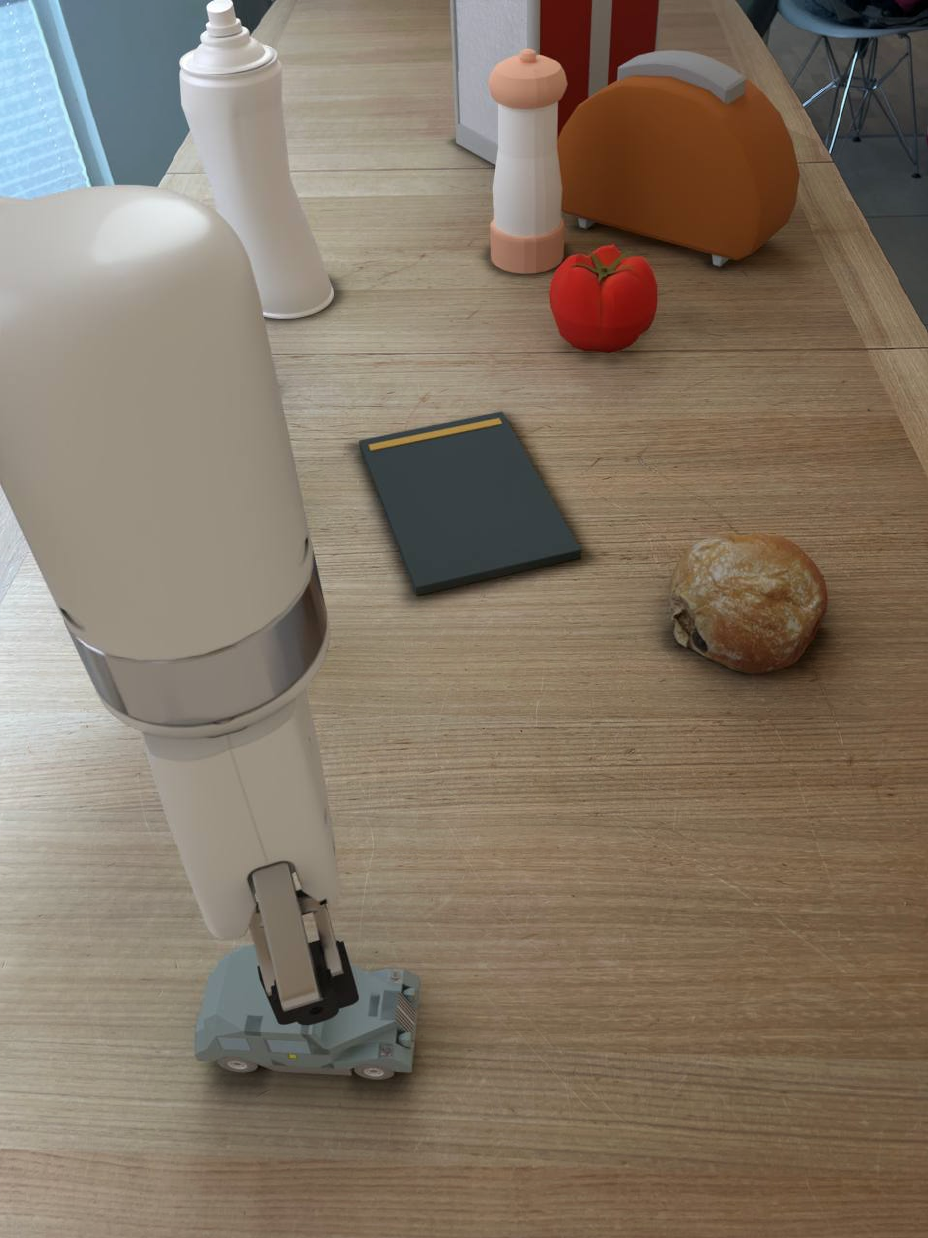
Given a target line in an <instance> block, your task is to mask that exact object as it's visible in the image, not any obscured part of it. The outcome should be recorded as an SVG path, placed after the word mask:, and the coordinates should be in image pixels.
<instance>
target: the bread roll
mask: <svg viewBox="0 0 928 1238" xmlns="http://www.w3.org/2000/svg"><path fill="white" fill-rule="evenodd" d="M824 577H825V575H823V574H822V572H821V571H820V568H819V567H818V566H817V563H815V561H814V560H813V559H812V558H811V557H810V556H809V554H807V553H806V551H804V550H803V549H802V548H801V547H800V546H799V545H798V544H797V543H795V542H794V541H792V540H791V539H787V538H786V537H784V536H783V535H780V534H763V532H762V533H760V532H752V533H750V534H728V535H727V534H725V535H716V536H711V537H708V538H705V539H702V540H700V541H698V542H696V543H695V544H693V545H692V546H691V547H690V548H689V549H687V550H686V551H685V552H684V553H683V555H682V556H681V557H680V558H679V560H678V562H677V563H676V565H675V567H674V569H673V572H672V574H671V577H670V579H669V586H668V589H669V597H668V598H669V599H668V601H669V606H668V607H669V608H668V612H669V615H670V619H671V622H672V623H673V625H674V628H673V637H674V638H675V640H676V641H677V644H680V645H681V646H683V647H684V648H689V649H691V650H693V651H695V652H697V653H698V654H700V655H701V656H702V657H705V658H706V659H709V660H711V661H713V662H716V663H718V664H721V665H723V666H725V667H727V668H728V669H730V670H733V671H737V672H741V673H745V674H752V675H755V674H765V673H771V672H775V671H778V670H781V669H782V670H783V669H785V668H787V667H789V666H791V665H794V664H795V663H797V662H798V660H799V659H800V658H801V656H803V654H804V652H805V651H806V649H807V648H808V647H809V645H810V644H811V643H812V641H813V640H814V638H815V637H816V635H817V631H818V630H819V628H820V627H821V625H822V622H823V620H824V617H825V616H826V613H827V609H828V603H829V602H828V601H829V599H828V589H827V583H826V581H825V579H824Z"/></svg>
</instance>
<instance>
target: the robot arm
mask: <svg viewBox="0 0 928 1238" xmlns="http://www.w3.org/2000/svg"><path fill="white" fill-rule="evenodd" d="M284 408H285V407H284V403H283V399H282V394H281V390H280V384H279V380H278V376H277V370H276V365H275V362H274V357H273V353H272V347H271V344H270V338H269V334H268V328H267V324H266V321H265V317H264V315H263V310H262V305H261V300H260V296H259V292H258V288H257V284H256V281H255V277H254V273H253V270H252V266H251V262H250V259H249V256H248V254H247V252H246V250H245V248H244V246H243V244H242V242H241V240H240V238H239V237H238V235H237V234H236V232H235V231H234V230H233V228H232V227H231V226H230V225H229V224H228V223H227V222H226V220H225V219H224V218H223V217H222V216H220V215H219V214H218V213H217V210H216V209H214V208H213V207H211V206H210V205H208V204H206V203H204V202H202V201H201V200H199V199H197V198H194V197H193V196H190V195H188V194H185V193H182V192H179V191H177V190H174V189H169V188H164V187H160V186H153V185H152V186H151V185H142V184H112V185H110V184H109V185H96V186H87V187H81V188H73V189H68V190H64V191H59V192H54V193H50V194H45V195H41V196H37V197H34V198H32V199H31V198H21V197H10V196H2V195H0V487H1V489H2V491H3V493H4V496H5V498H6V500H7V502H8V504H9V506H10V509H11V510H12V513H13V515H14V517H15V519H16V522H17V524H18V526H19V528H20V530H21V532H22V535H23V537H24V539H25V541H26V543H27V545H28V548H29V550H30V552H31V554H32V557H33V559H34V560H35V564H36V565H37V567H38V569H39V571H40V573H41V576H42V578H43V580H44V582H45V584H46V586H47V589H48V591H49V593H50V595H51V597H52V599H53V601H54V604H55V606H56V608H57V610H58V612H59V614H60V616H61V618H62V620H63V623H64V625H65V628H66V629H67V630H66V631H67V632H68V634H69V637H70V639H71V641H72V643H73V645H74V647H75V649H76V651H77V654H78V656H79V658H80V660H81V662H82V664H83V666H84V669H85V671H86V672H87V676H88V678H89V679H90V682H91V684H92V686H93V688H94V691H95V692H96V694H97V696H98V698H99V700H100V702H101V704H102V705H103V706H104V707H105V709H106V711H108V712H109V713H110V714H111V716H113V717H115V718H116V719H117V720H118V721H120V722H121V723H123V725H126V726H128V727H130V728H132V729H134V730H137V731H139V732H141V736H142V741H143V745H144V749H145V753H146V756H147V759H148V763H149V766H150V770H151V774H152V778H153V781H154V784H155V788H156V791H157V795H158V798H159V800H160V804H161V807H162V809H163V812H164V815H165V818H166V821H167V824H168V827H169V830H170V833H171V836H172V839H173V841H174V843H175V847H176V850H177V852H178V855H179V858H180V860H181V863H182V865H183V868H184V871H185V873H186V876H187V879H188V881H189V884H190V887H191V889H192V892H193V894H194V898H195V900H196V903H197V906H198V908H199V911H200V913H201V916H202V919H203V922H204V924H205V927H206V929H207V931H208V932H209V933H210V934H211V935H212V936H213V937H215V938H216V939H218V940H220V941H228V940H232V939H237V938H242V937H245V936H246V935H247V933H248V931H250V936H251V939H252V944H253V943H254V947H255V951H256V955H257V959H258V962H259V966H257V968H258V974H259V979H260V981H261V984H262V986H263V989H264V991H265V993H266V996H267V998H268V1000H269V1003H270V1005H271V1008H272V1010H273V1012H274V1015H275V1017H276V1020H277V1022H278V1023H279V1024H280V1025H288V1024H291V1023H295V1022H298V1024H300V1025H313V1024H317V1023H320V1022H323V1021H326V1020H329V1019H331V1018H333V1017H334V1016H336V1015H337V1014H338V1012H339V1009H340V1008H344V1007H347V1006H350V1005H353V1004H355V1003H356V1002H357V1001H358V1000H359V995H358V991H357V987H356V983H355V980H354V976H353V973H352V969H351V966H350V964H351V961H350V959H349V955H348V952H347V948H346V946H345V945H346V944H345V942H344V940H341V941H340V940H337V939H336V936H335V932H334V927H333V923H332V921H331V917H330V912H329V910H331V909H333V907H335V905H336V903H337V902H338V900H339V898H340V897H341V895H342V885H341V877H340V870H339V869H340V868H339V863H338V857H337V856H338V855H337V847H336V841H335V835H334V833H335V832H334V828H333V827H334V826H333V820H332V815H331V807H330V802H329V796H328V789H327V784H326V777H325V771H324V766H323V761H322V757H321V750H320V746H319V741H318V736H317V732H316V727H315V723H314V718H313V713H312V709H311V704H310V700H309V694H308V690H307V687H308V686H309V685H310V684H311V682H312V681H313V680H314V679H315V677H316V676H317V674H318V673H319V671H320V669H321V668H322V666H323V664H324V662H325V659H326V657H327V654H328V649H329V646H330V639H331V627H330V619H329V615H328V611H327V607H326V602H325V597H324V592H323V588H322V583H321V578H320V574H319V569H318V565H317V560H316V555H315V550H314V547H313V543H312V538H311V533H310V528H309V523H308V519H307V514H306V509H305V503H304V500H303V495H302V490H301V485H300V479H299V476H298V471H297V464H296V461H295V456H294V455H295V454H294V450H293V446H292V440H291V437H290V433H289V427H288V422H287V419H286V418H287V417H286V414H285V409H284ZM293 874H296V875H295V876H296V878H297V881H298V883H299V886H300V889H297V888H296V884H295V880H294V875H293ZM309 914H312V916H313V921H314V924H315V928H316V932H317V936H318V940H313V941H310V942H309V939H308V935H307V931H306V926H305V922H304V918H303V916H305V915H309Z"/></svg>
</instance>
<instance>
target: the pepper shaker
mask: <svg viewBox="0 0 928 1238" xmlns="http://www.w3.org/2000/svg"><path fill="white" fill-rule="evenodd" d="M488 85H489V90H490V93H491V96H492V98H493V99H494V100H495V101H496V102H497V103H498V152H497V160H496V165H495V167H494V176H493V182H492V196H493V197H492V199H493V200H492V201H493V218H492V220H491V222H490V259H491V262H492V263H493V265H495V267H497V268H498V269H500V270H503V271H505V272H509V273H513V274H523V275H526V274H527V275H528V274H529V275H530V274H537V273H543V272H548V271H549V270H552V269H555V268H556V267H558V265H559V266H560V265H561V264H562V263H563V262H562V261H563V259H564V253H565V223H564V222H565V221H564V219H563V217H561V216H562V211H561V202H562V182H561V175H560V167H559V159H558V151H557V118H558V101H559V100H561V98H562V96H563V94H564V92H565V90H566V87H567V80H566V75H565V72H564V70H563V68H562V67H561V65H560V64H559V63H558V62H557V61H555V60H553V59H550V58H548V57H545V56H542V55H537V54H536V52H535V51H534V50H532V49H524V50H522V51H521V52H520V54H519V55H516V56H513V57H510V58H508V59H506V60H504V61H502V62H500V63H498V64H497V65H496V67H495V68H494V70H493V72H492V73H491V75H490V79H489V83H488Z"/></svg>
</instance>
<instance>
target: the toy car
mask: <svg viewBox="0 0 928 1238" xmlns="http://www.w3.org/2000/svg"><path fill="white" fill-rule="evenodd" d="M257 966H259V962H258V959H257V955H256V951H255V947H254V943H253V942H252V943H250V944H244V945H239V946H236V947H234V948H233V949H232V950H231V951H229V952H228V953H226V954H225V955H224V956H222V957H221V958H220V959H218V960H217V963H216V967H215V968H214V969H213V970H211V972H209V975H208V979H207V983H206V987H205V991H204V995H203V999H202V1002H201V1007H200V1011H199V1014H198V1019H197V1022H196V1027H195V1031H194V1057H195V1058H196V1060H197V1062H204V1063H205V1062H206V1063H214V1062H216V1061H217V1064H218V1065H219V1067H221V1068H223V1069H225V1070H227V1071H230V1072H233V1073H241V1074H242V1073H250V1072H254V1071H256V1070H257V1069H258V1067H259V1066H261V1067H264V1068H266V1069H269V1070H271V1071H273V1072H279V1073H296V1074H298V1073H299V1074H316V1075H333V1076H334V1075H335V1076H351V1077H352V1075H353V1072H354V1073H355V1074H356V1075H357V1076H360V1077H361V1078H364V1079H368V1080H375V1081H383V1080H388V1079H390V1078H393V1077H394V1076H395V1072H396V1073H412V1072H413V1063H414V1054H415V1053H414V1052H415V1043H416V1033H417V1022H418V1013H419V1006H420V1005H419V1003H420V996H421V995H420V994H421V977H420V976H419V975H417V974H415V973H412V972H411V971H408V970H406V969H405V968H391V967H388V968H383V969H379V970H374V971H370V972H366V971H364V970H363V969H361V968H359V967H357V966H356V965H354V964H352V963H350V966H351V969H352V973H353V976H354V980H355V983H356V987H357V991H358V995H359V1000H358V1001H357V1002H356V1003H355V1004H353V1005H350V1006H347V1007H344V1008H340V1009H339V1012H338V1014H337V1015H336V1016H334V1017H333V1018H331V1019H329V1020H326V1021H323V1022H320V1023H317V1024H313V1025H300V1024H298V1022H295V1023H291V1024H288V1025H280V1024H279V1023H278V1022H277V1020H276V1017H275V1015H274V1012H273V1010H272V1008H271V1005H270V1003H269V1000H268V998H267V996H266V993H265V991H264V989H263V986H262V984H261V981H260V979H259V974H258V968H257Z"/></svg>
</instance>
